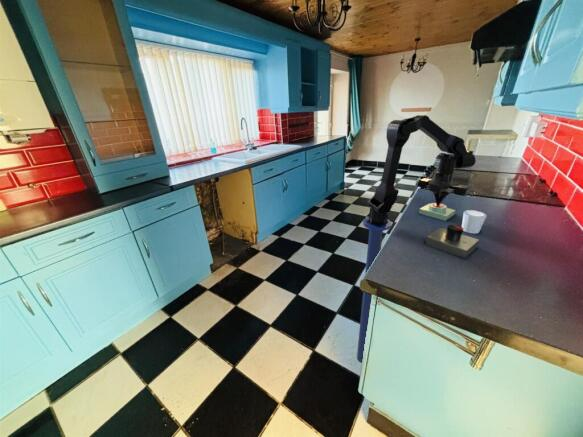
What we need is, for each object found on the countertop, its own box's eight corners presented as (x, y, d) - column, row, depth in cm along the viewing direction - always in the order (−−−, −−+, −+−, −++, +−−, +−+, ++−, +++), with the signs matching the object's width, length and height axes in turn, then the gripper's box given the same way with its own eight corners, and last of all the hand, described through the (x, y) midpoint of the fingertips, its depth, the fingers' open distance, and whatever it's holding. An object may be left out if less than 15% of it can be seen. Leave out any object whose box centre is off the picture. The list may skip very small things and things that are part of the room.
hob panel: (425, 243, 83) (427, 236, 81) (438, 234, 88) (440, 227, 87) (464, 258, 74) (467, 250, 73) (476, 247, 79) (479, 239, 78)
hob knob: (442, 237, 80) (445, 226, 78) (448, 233, 82) (451, 222, 81) (457, 242, 77) (460, 231, 75) (462, 238, 79) (465, 226, 77)
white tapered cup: (466, 224, 94) (470, 208, 91) (485, 231, 88) (491, 214, 85) (455, 228, 91) (459, 212, 89) (474, 236, 86) (479, 218, 83)
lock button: (431, 208, 104) (431, 205, 103) (434, 206, 105) (435, 203, 105) (439, 211, 101) (440, 207, 100) (443, 209, 103) (444, 205, 102)
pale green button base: (418, 213, 106) (420, 204, 104) (428, 207, 111) (430, 199, 109) (445, 220, 98) (447, 212, 96) (454, 214, 103) (456, 206, 101)
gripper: (413, 169, 98) (407, 204, 105) (464, 177, 85) (453, 217, 91) (426, 165, 104) (420, 198, 111) (476, 172, 91) (465, 209, 97)
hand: (438, 205), depth 102 cm, fingers closed, pressing on lock button
